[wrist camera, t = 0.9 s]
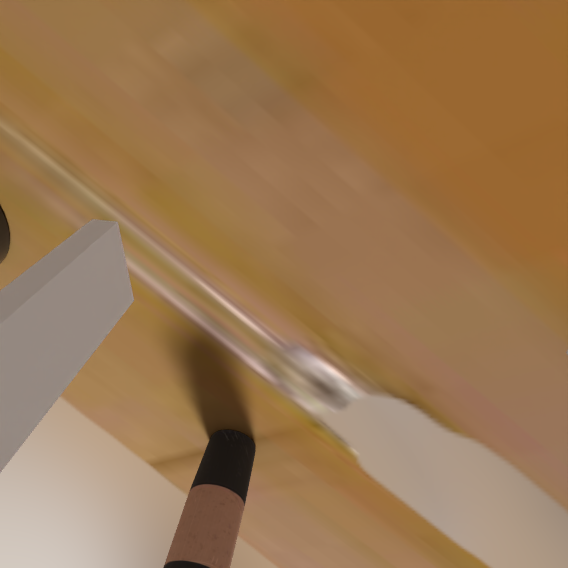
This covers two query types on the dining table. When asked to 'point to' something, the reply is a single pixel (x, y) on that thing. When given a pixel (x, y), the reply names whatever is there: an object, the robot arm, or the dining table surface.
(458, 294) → the dining table surface
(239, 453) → the travel mug
